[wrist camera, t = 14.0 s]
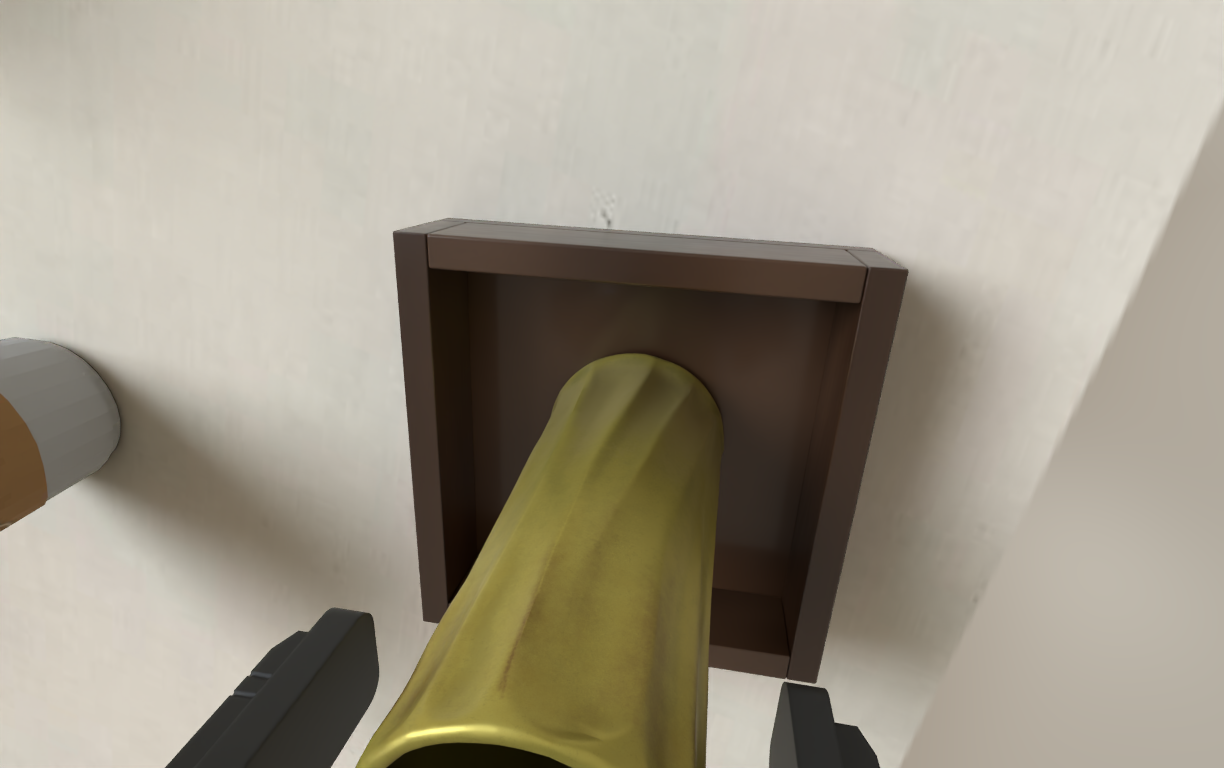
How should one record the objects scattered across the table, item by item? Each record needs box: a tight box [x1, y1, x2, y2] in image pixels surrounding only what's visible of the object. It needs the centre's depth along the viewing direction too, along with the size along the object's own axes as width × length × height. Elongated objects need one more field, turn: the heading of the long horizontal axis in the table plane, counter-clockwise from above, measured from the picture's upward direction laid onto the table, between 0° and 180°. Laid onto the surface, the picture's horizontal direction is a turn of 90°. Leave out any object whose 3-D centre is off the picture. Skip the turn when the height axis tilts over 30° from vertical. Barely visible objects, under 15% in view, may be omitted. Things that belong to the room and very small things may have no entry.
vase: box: [356, 353, 724, 768], centre depth 15 cm, size 6×6×14 cm
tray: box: [393, 218, 908, 684], centre depth 21 cm, size 14×14×4 cm
